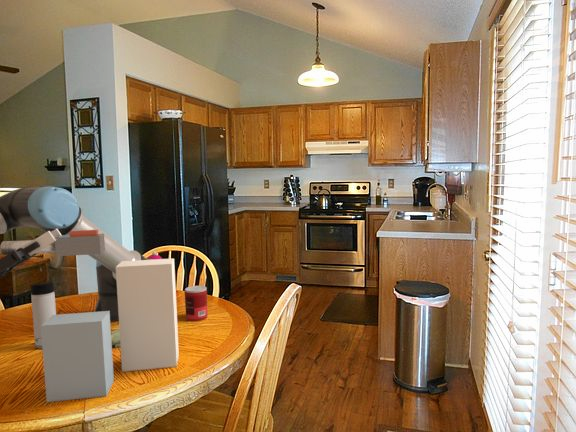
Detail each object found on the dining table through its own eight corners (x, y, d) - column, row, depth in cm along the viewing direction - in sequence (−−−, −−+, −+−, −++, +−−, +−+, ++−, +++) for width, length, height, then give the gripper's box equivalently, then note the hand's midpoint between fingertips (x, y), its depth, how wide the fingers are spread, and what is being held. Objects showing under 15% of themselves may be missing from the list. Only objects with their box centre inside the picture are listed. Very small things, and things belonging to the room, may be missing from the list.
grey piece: (8, 255, 106) (7, 232, 105) (105, 251, 109) (103, 228, 109) (0, 258, 101) (-2, 234, 101) (100, 254, 105) (99, 230, 105)
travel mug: (34, 351, 132) (29, 285, 130) (35, 344, 137) (30, 281, 136) (58, 347, 134) (53, 282, 133) (58, 340, 140) (53, 278, 138)
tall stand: (127, 359, 124) (121, 261, 121) (178, 354, 126) (174, 258, 124) (122, 371, 116) (115, 267, 113) (176, 366, 118) (171, 263, 116)
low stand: (58, 385, 109) (53, 314, 107) (113, 380, 111) (109, 310, 109) (46, 402, 101) (40, 325, 99) (106, 395, 103) (101, 321, 101)
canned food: (210, 314, 163) (209, 285, 162) (204, 321, 155) (202, 291, 154) (190, 314, 163) (188, 285, 162) (183, 321, 155) (181, 291, 155)
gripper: (-5, 291, 112) (76, 242, 114) (-45, 311, 95) (52, 253, 97) (-24, 267, 111) (59, 218, 113) (-67, 283, 94) (31, 224, 96)
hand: (55, 234), depth 105 cm, fingers closed on grey piece, 4 cm apart
